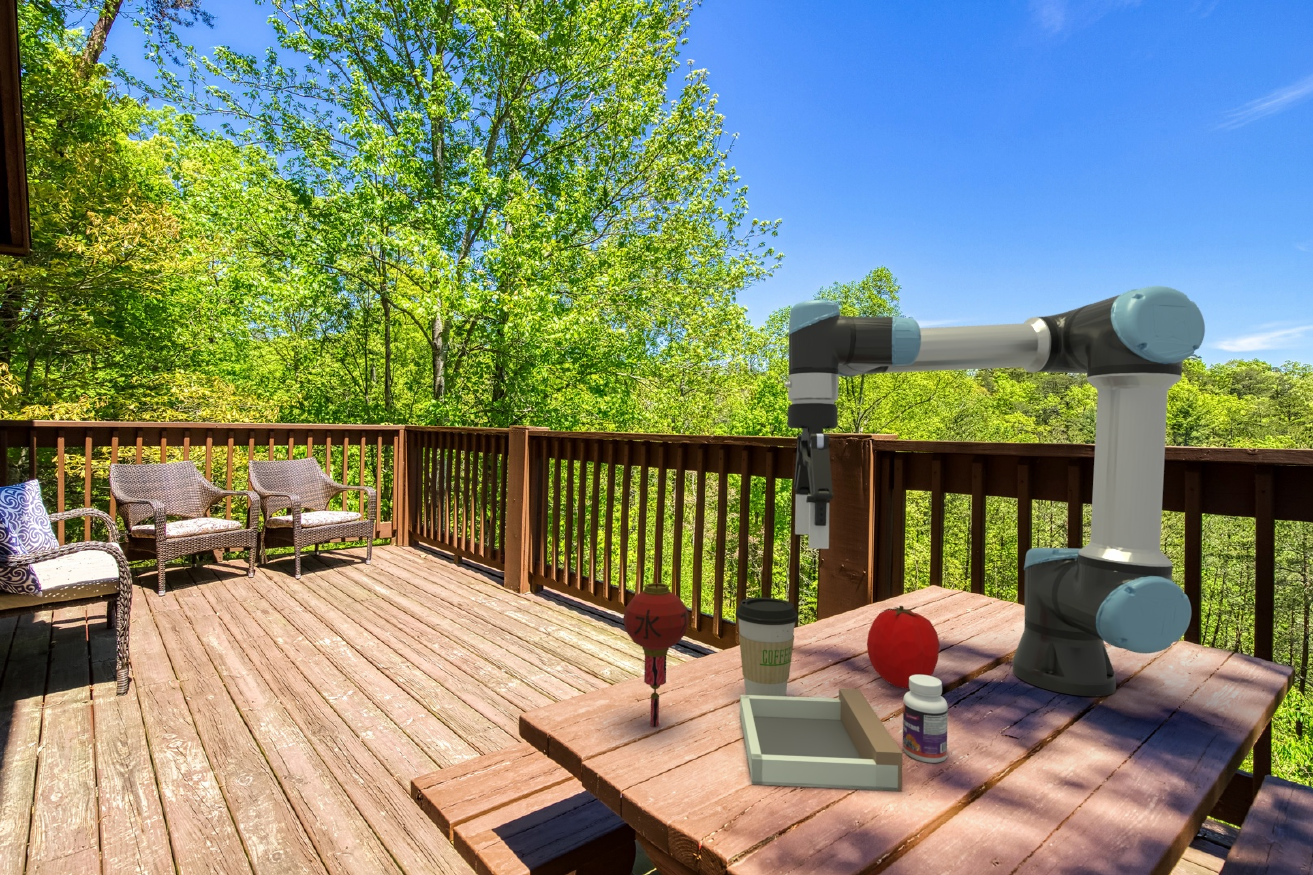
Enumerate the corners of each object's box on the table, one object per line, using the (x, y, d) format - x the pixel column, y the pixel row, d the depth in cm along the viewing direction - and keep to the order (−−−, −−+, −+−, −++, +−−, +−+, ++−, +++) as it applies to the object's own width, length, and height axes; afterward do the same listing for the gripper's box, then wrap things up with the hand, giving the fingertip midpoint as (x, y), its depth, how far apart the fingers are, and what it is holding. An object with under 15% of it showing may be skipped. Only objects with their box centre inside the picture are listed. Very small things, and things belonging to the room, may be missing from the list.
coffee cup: (797, 714, 94) (799, 614, 94) (731, 707, 96) (733, 609, 96) (796, 689, 104) (797, 598, 104) (736, 683, 106) (737, 594, 106)
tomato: (868, 694, 102) (869, 613, 102) (864, 668, 114) (865, 595, 114) (946, 703, 99) (947, 619, 99) (933, 675, 111) (934, 600, 111)
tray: (859, 719, 93) (859, 689, 93) (901, 791, 74) (902, 752, 74) (739, 714, 94) (740, 684, 94) (751, 784, 75) (752, 746, 75)
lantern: (695, 716, 93) (698, 513, 93) (676, 745, 84) (679, 521, 84) (635, 706, 96) (638, 510, 96) (611, 733, 87) (614, 517, 87)
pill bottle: (895, 744, 85) (896, 672, 85) (933, 743, 86) (934, 671, 86) (915, 764, 80) (915, 688, 80) (955, 763, 80) (956, 687, 80)
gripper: (778, 407, 110) (776, 528, 110) (800, 397, 85) (797, 554, 85) (822, 407, 109) (820, 529, 109) (856, 397, 84) (854, 555, 84)
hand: (810, 540), depth 97 cm, fingers open, 13 cm apart
